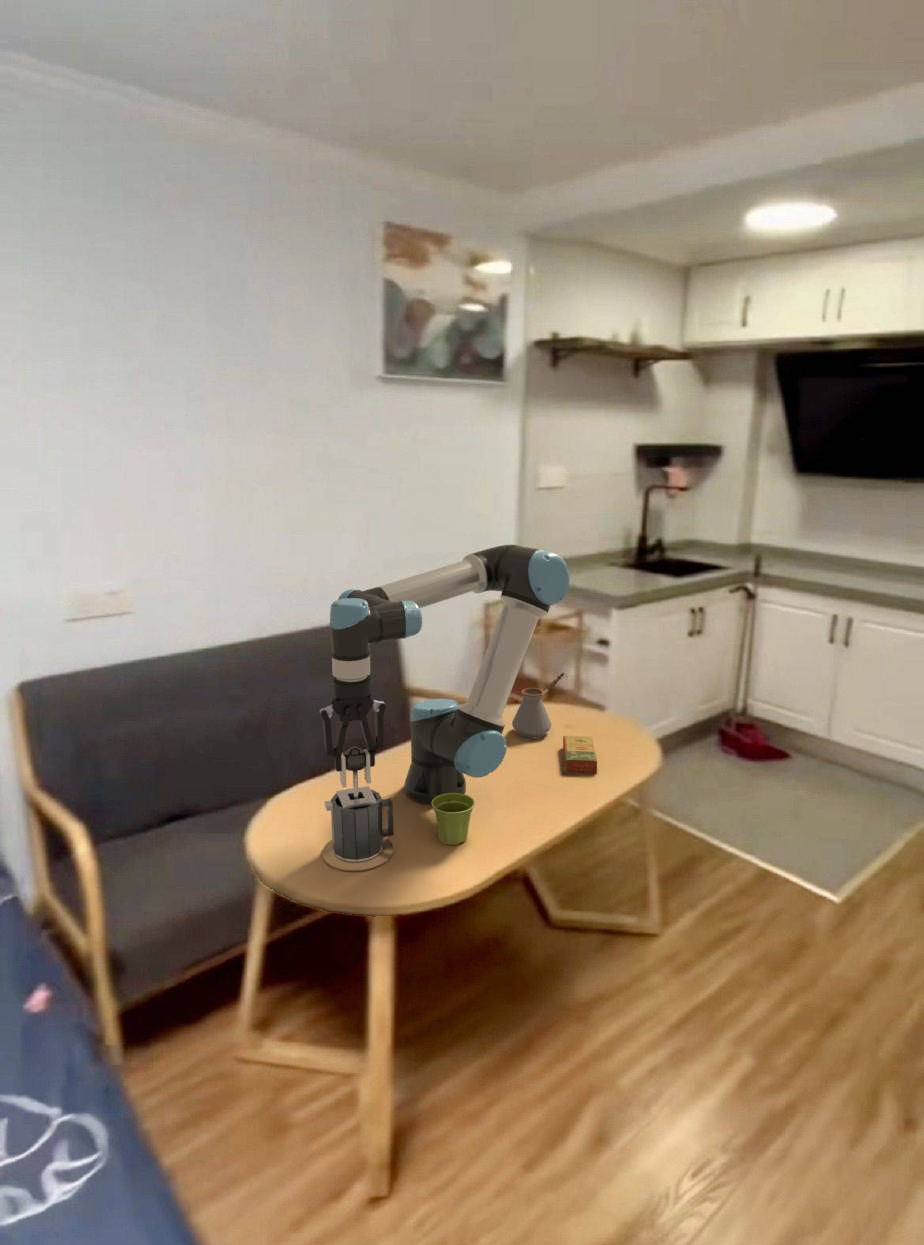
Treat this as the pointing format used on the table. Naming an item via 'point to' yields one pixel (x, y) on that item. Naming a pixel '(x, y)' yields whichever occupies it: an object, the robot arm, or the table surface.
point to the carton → (579, 755)
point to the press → (359, 831)
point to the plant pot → (453, 816)
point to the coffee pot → (533, 713)
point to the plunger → (355, 766)
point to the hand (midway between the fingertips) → (355, 782)
